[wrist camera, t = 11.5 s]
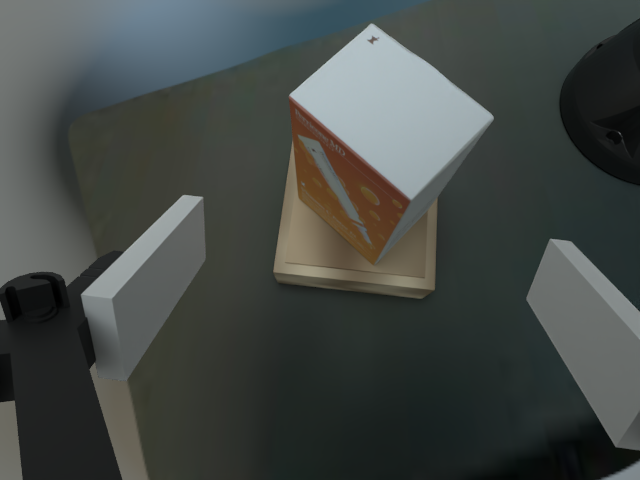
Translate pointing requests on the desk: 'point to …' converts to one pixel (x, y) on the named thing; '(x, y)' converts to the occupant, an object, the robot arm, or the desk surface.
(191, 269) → the robot arm
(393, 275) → the oak plinth
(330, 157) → the small box
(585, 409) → the desk surface
